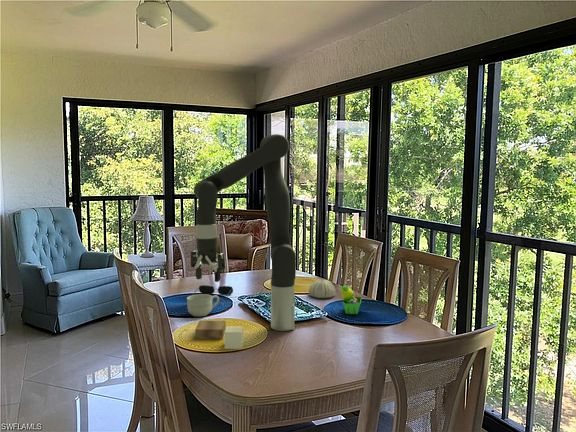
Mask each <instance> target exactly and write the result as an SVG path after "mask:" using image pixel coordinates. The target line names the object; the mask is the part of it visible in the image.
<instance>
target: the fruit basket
mask: <svg viewBox="0 0 576 432" xmlns="http://www.w3.org/2000/svg"><path fill="white" fill-rule="evenodd" d="M340 292H341V298H342V299H343V301H342V305H343V308H344V313H345V314H346V315H347V314H349V315H358V313H359V309H360V306H361V303H362V297H361V296H354V294H355V292H354V290H352V289H351V288H349V286H348V285H343V286H341V289H340Z"/></svg>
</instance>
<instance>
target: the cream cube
mask: <svg viewBox="0 0 576 432" xmlns="http://www.w3.org/2000/svg"><path fill="white" fill-rule="evenodd" d="M243 345H244V326H241V325H240V326H237V325H236V326H233V325H232V326H231V325H230V326H228V325H226V330H225V333H224V350H230V349H231V350H233V349H234V350H242V349H243Z"/></svg>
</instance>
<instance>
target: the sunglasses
mask: <svg viewBox="0 0 576 432" xmlns="http://www.w3.org/2000/svg"><path fill="white" fill-rule="evenodd" d="M215 290H217V293H218V294H219V295H226V297H225V304H227V302H228V297H229V295H232V294H233V293H234V288H233V287H232V286H231V285H219V286H218V288H217V289H215V287H214V286H212V285H207V284H203V285H202V284H201V285H199V286H198V287H197V288H196V290H195V291H194V293H193V294H192V295H196V294H195V293H196V292H197V291H199V293H200V294H208V295H212V294H214V293H215Z"/></svg>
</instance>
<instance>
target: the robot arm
mask: <svg viewBox="0 0 576 432" xmlns="http://www.w3.org/2000/svg"><path fill="white" fill-rule="evenodd" d="M289 150H290V142H289V140H288V138H287V137H285V136H284V135H282V134H279V133H274V134H271V135H270V134H269V135H265V137H263V138H262V139H261V142H260V144H259V148H257V149H255V150H254V151H252V152H251V153H249V154H246V155H245V156H243V157H241V158H239V159H237V160H234V161H233V162H231V163H229V164H227V165H225V166H224V167H223V168H221V169H220V170H218V171H217V172H215V173H214V174H211V175H209V176H207V177H205V178H203V179H201V180H199V181H198V182H197V183H196V184H195V186H194V188H193V194H194V196H195V197H196V198H197V199H198V204H197V205H198V206H197V207H198V209H197V210H196V213H195V220H196V222H195V223H196V227H195V228H196V229H195V234H196V235H195V238H196V239H195V240H196V242H195V243H196V250H192V251H190V267H191V268H193V269H195V278H196V280H202V278H203V269H202V267H203V265H208V266H209V265H210V267H211V268H212V269H213V272H214V273H213V275H214V282H215V283H219V282H220V280H221V277H222V274H221V273H222V272H221V271H224V270H226V263H225V262H226V261H225V253H223V252H222V253H218V252H217V250H218V248H219V247H218V246H219V245H218V229H217V226H218V225H217V213H216V212H217V211H216V210H217V205H218V196H219V195H218V193H219V192H221V191H223V190H225V189H228V188H230V187H232V186H234V185H236V184H237V183H238V182H239V181H241V180H243V179H244V178H246V177H248V176H249V175H251V173H253V172H255V171H256V170H258V169H259V168H261V167H262V169H263V175H264V176H263V177H264V190H265V191H264V192H265V206H266V207H265V208H266V213H267V220H268V225H269V231H270V253H269V254H270V259H271V277H270V328H271V329H272V330H274V331H278V332H280V331H281V332H286V331H292V330H293V331H294V330H295V279H296V277H297V276H296V273H297V272H296V271H297V270H296V269H297V268H296V267H297V256H296V253H295V250H294V249H293V247H292V243H291V238H290V219H291V199H290V191H289V189H288V185H287V183H286V180H285V178H284V175H283V170H282V158H284V157H285V156H286V155H287V154H288V152H289Z"/></svg>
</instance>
